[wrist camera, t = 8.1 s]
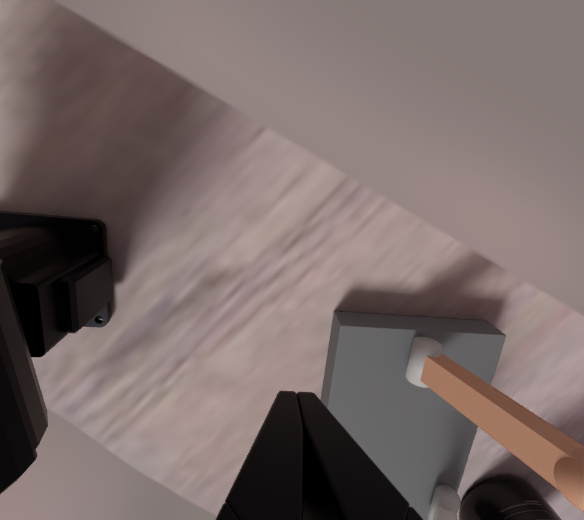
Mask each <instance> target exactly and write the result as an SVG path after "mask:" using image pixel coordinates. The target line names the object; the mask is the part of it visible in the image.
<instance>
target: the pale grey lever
mask: <svg viewBox="0 0 584 520" xmlns="http://www.w3.org/2000/svg"><path fill="white" fill-rule="evenodd" d="M459 505H460V497H459V495H458V494H457V493H456V491H455V490H453V489H452V488H451V487H449V486H446V485H438V486H437V487H436V489H435V492H434V496H433V499H432V503H431V506H430V510H429V513H428V520H457V511H458V508H459Z"/></svg>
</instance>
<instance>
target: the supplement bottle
mask: <svg viewBox="0 0 584 520" xmlns="http://www.w3.org/2000/svg"><path fill="white" fill-rule="evenodd" d="M459 519H460V520H561V518H560V517H559V516H558V515H557V514H556V512H555V511H554V510H553V509H552V507H551V506H550V505H549V504H548V503H547V501H546V500H545V499H544V498H543V497H542V495H541V494H540V493H539V492H538V491H537V489H536V488H535V487H534V486H532V485H531V484H530V483H528V482H527V481H525V480H523V479H520V478H516V477H509V476H505V477H497V478H493V479H490V480H487V481H485V482H483V483H481V484H479V485H478V486H476V487H475V488H474V489H472V490H471V491H470V492H469V493H468V494H467V496H466V497H465V498H464V500H463V502H462V504H461V507H460V512H459Z"/></svg>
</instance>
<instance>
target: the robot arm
mask: <svg viewBox="0 0 584 520" xmlns="http://www.w3.org/2000/svg"><path fill="white" fill-rule="evenodd" d="M92 225H95V226H97V227H98V232H94V231H93V229H92ZM112 299H113V279H112V260H111V258H110V257H109V256H108V255H107V236H106V226H105V224H104V223H103V222H102V221H100V220H98V219H88V218H77V217H65V216H53V215H41V214H29V213H18V212H6V211H0V494H1V493H3V492H4V491H5V490H6V489H7V488H8V487H10V486H11V485H12V484H13V483H14V482H16V481H17V480H18V478H19V477H20V476H21V475H22V474H23V473H24V472H25V471H26V470H27V469H28V467H29V466H30V465H31V464H32V463H33V462H34V461H35V459H36V458H37V452H36V448H37V446H38V445H39V443H40V441H41V439H42V437H43V435H44V432H45V431H46V428H47V426H48V419H47V409H46V406H45V403H44V399H43V396H42V392H41V389H40V386H39V382H38V379H37V376H36V372H35V369H34V365H33V362H32V359H31V357H42V356H43V355H45V354H46V353H47V352H48V351H49V350H50V349H51V348H52V347H54V346H55V345H56V344H57V343H58V342H59V341H60V340H61V339H63V338H64V337H65V336H66V335H67V334H68V333H76V332H77V331H78V330H80V329H81V328H82V327H83V326H84V327H104V326H105V325H106V324H107V323H108V322H109V321H110V318H111V315H110V301H111V300H112ZM98 316H101V317H102V318H103V321H102V320H99V319H98ZM409 506H410V504H409V502H408V501H407V500H406V499H405V498H404V497H403V495H402V494H401V493H400V492H399V491H398V490H397V488H396V487H395V486H394V485H393V484H392V483H391V481H390V480H389V479H388V478H387V477H386V476H385V475H384V473H383V472H382V471H381V470H380V469H379V468H378V466H377V465H376V464H375V463H374V462H373V461H372V460H371V458H370V457H369V456H368V455H367V454H366V453H365V451H364V450H363V449H362V448H361V447H360V446H359V444H358V443H357V442H356V441H355V440H354V439H353V438H352V436H351V435H350V434H349V433H348V432H347V431H346V429H345V428H344V427H343V426H342V425H341V424H340V422H339V421H338V420H337V419H336V418H335V417H334V416H333V414H332V413H331V412H330V411H329V410H328V409H327V407H326V406H325V405H324V404H323V403H322V402H321V400H320V399H319V398H318V397H317V396H316V395H315V394H314V393H312V392H298V393H297V394H296V393H295V392H294V391H279V393H278V394H277V396H276V398H275V400H274V402H273V405H272V407H271V409H270V411H269V413H268V415H267V417H266V419H265V421H264V423H263V425H262V427H261V429H260V431H259V433H258V435H257V437H256V439H255V441H254V443H253V445H252V447H251V449H250V451H249V453H248V455H247V457H246V459H245V461H244V463H243V466H242V468H241V470H240V472H239V474H238V476H237V478H236V480H235V482H234V484H233V486H232V488H231V490H230V492H229V494H228V496H227V498H226V500H225V503H224V504H223V506H222V508H221V510H220V512H219V514H218V516H217V518H216V520H424V519H423V518H422V517H421V516H420V515H419V514H418V513H417V511H416V510H415V509H414V508H413V507H409Z"/></svg>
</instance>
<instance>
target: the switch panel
mask: <svg viewBox="0 0 584 520" xmlns="http://www.w3.org/2000/svg"><path fill="white" fill-rule="evenodd" d="M415 337H428V338H431V339H434V340H436V341H438V342H439V343H440V344H441V345H442V346H443V349H442V354H444V355H445V356H447V357H448V358H450V359H451V360H453V361H454V362H456V363H457V364H459V365H461V366H462V367H464V368H465V369H467V370H468V371H470V372H471V373H473V374H474V375H476V376H477V377H479V378H480V379H482V380H483V381H485V382H487V383H488V384H490V385H491V382H492V379H493V376H494V373H495V369H496V366H497V363H498V360H499V357H500V353H501V350H502V347H503V344H504V340H505V337H506V335H505V334H503V333H502V332H501V331H499V330H498V329H497V328H495V327H494V326H493V325H491V324H490V323H489V322H487V321H483V320H468V319H452V318H436V317H420V316H404V315H388V314H372V313H357V312H341V311H334V315H333V321H332V328H331V335H330V341H329V348H328V355H327V361H326V368H325V375H324V381H323V388H322V395H321V402H322V403H323V404H324V405H325V406H326V407H327V409H328V410H329V411H330V412H331V413H332V414H333V416H334V417H335V418H336V419H337V420H338V421H339V422H340V424H341V425H342V426H343V427H344V428H345V429H346V431H347V432H348V433H349V434H350V435H351V436H352V438H353V439H354V440H355V441H356V442H357V443H358V444H359V446H360V447H361V448H362V449H363V450H364V451H365V453H366V454H367V455H368V456H369V457H370V458H371V460H372V461H373V462H374V463H375V464H376V465H377V466H378V468H379V469H380V470H381V471H382V472H383V473H384V475H385V476H386V477H387V478H388V479H389V480H390V481H391V483H392V484H393V485H394V486H395V487H396V488H397V490H398V491H399V492H400V493H401V494H402V495H403V497H404V498H405V499H406V500H407V501H408V502H409V504H410V506H409V507H413V508H414V509H415V510H416V511H417V513H418V514H419V515H420V516H421V517H422V518H423V519H424V520H428V513H429V510H430V506H431V503H432V499H433V496H434V492H435V489H436V487H437V486H438V485H446V486H449V487H451V488H452V489H453V490H455V491H456V493H457V491H458V488H459V485H460V482H461V479H462V475H463V472H464V469H465V466H466V463H467V459H468V456H469V453H470V450H471V446H472V443H473V440H474V437H475V434H476V430H477V427H478V426H477V425H476V424H474V423H473V422H472V421H471V420H469V419H468V418H467V417H466V416H464V415H463V414H462V413H461V412H459V411H458V410H457V409H455V408H454V407H453V406H452V405H450V404H449V403H448V402H447V401H445V400H444V399H443V398H442V397H440V396H439V395H438V394H437V393H435V392H434V391H433V390H431V389H430V388H423V387H419V386H416V385H414V384H412V383H411V382H409V381H408V380H407V378H406V371H407V366H408V362H409V358H410V353H411V349H412V345H413V340H414V338H415Z"/></svg>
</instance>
